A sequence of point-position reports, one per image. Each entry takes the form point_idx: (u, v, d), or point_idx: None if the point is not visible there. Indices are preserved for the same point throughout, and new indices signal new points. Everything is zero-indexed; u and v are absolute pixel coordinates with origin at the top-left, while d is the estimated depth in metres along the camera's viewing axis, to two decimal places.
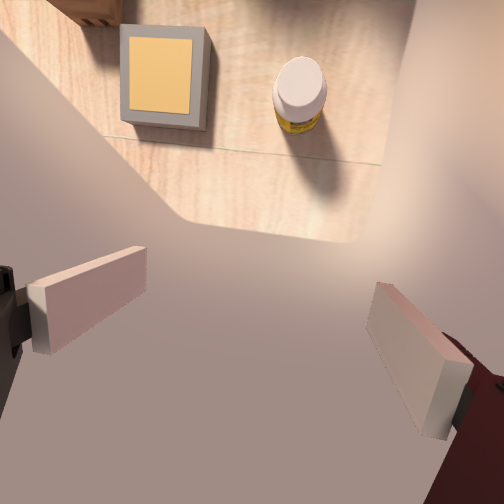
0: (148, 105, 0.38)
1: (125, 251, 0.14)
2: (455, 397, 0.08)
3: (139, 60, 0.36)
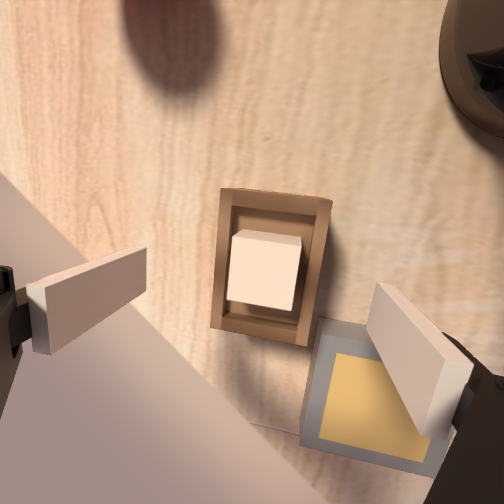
0: (352, 440, 0.24)
1: (125, 251, 0.14)
2: (455, 397, 0.08)
3: (348, 383, 0.23)
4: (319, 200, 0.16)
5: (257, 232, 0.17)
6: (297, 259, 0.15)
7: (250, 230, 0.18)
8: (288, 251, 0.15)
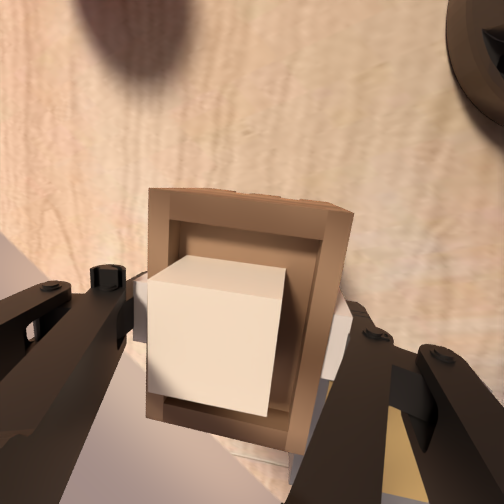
0: None
1: None
2: (341, 345, 0.10)
3: None
4: (328, 212, 0.09)
5: (208, 262, 0.10)
6: (274, 325, 0.07)
7: (199, 257, 0.10)
8: (257, 310, 0.07)
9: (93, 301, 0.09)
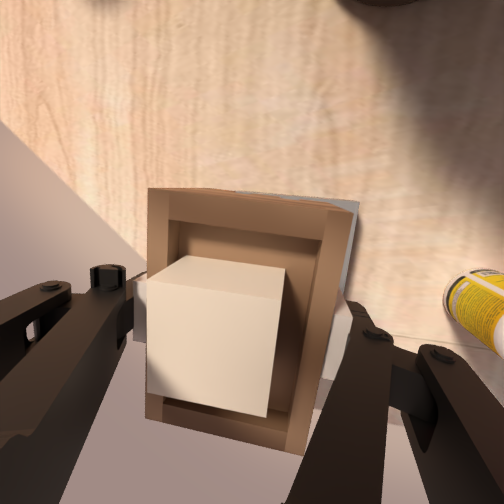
0: None
1: None
2: (341, 344, 0.10)
3: None
4: (328, 212, 0.09)
5: (208, 262, 0.10)
6: (274, 325, 0.07)
7: (198, 258, 0.10)
8: (256, 310, 0.07)
9: (93, 301, 0.09)
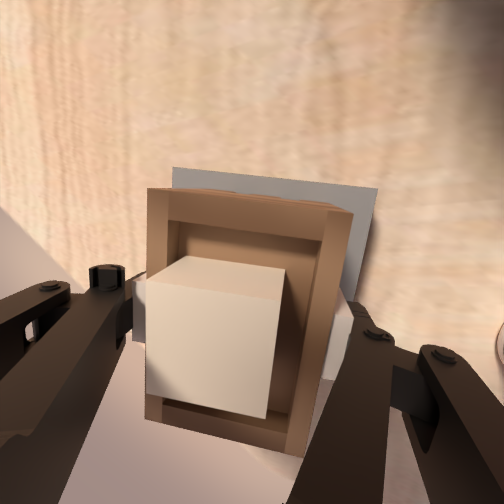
0: None
1: None
2: (342, 345, 0.10)
3: None
4: (328, 212, 0.08)
5: (207, 263, 0.10)
6: (273, 326, 0.07)
7: (198, 258, 0.10)
8: (255, 311, 0.07)
9: (92, 301, 0.09)
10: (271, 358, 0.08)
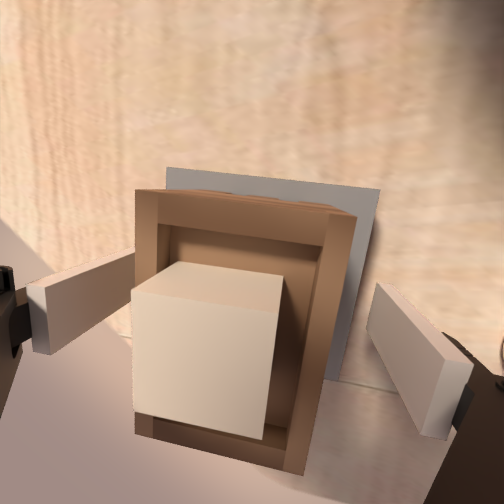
0: None
1: (125, 251, 0.14)
2: (455, 397, 0.08)
3: None
4: (329, 215, 0.08)
5: (200, 269, 0.09)
6: (270, 341, 0.07)
7: (190, 264, 0.10)
8: (251, 325, 0.07)
9: None
10: (268, 375, 0.07)
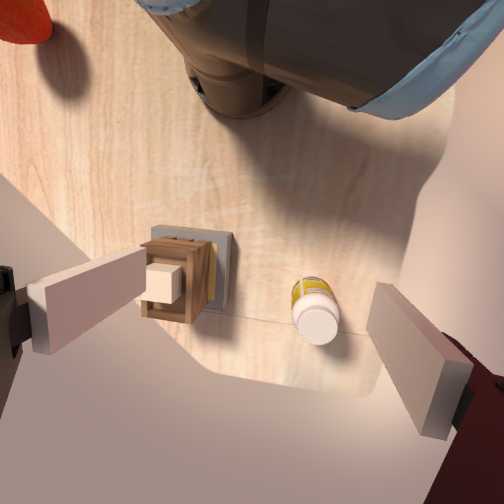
0: None
1: (125, 251, 0.14)
2: (455, 397, 0.08)
3: None
4: (187, 250, 0.33)
5: (158, 264, 0.34)
6: (170, 279, 0.32)
7: (156, 263, 0.35)
8: (166, 275, 0.32)
9: None
10: (171, 287, 0.32)
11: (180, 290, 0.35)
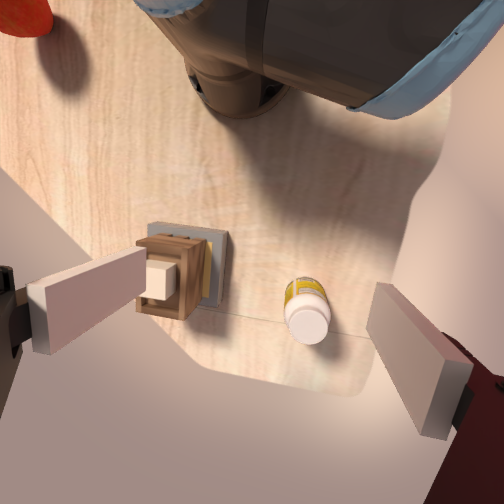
0: None
1: (125, 251, 0.14)
2: (455, 397, 0.08)
3: None
4: (181, 248, 0.33)
5: (153, 261, 0.35)
6: (164, 276, 0.32)
7: (151, 260, 0.35)
8: (160, 272, 0.32)
9: None
10: (165, 284, 0.32)
11: (174, 287, 0.35)
